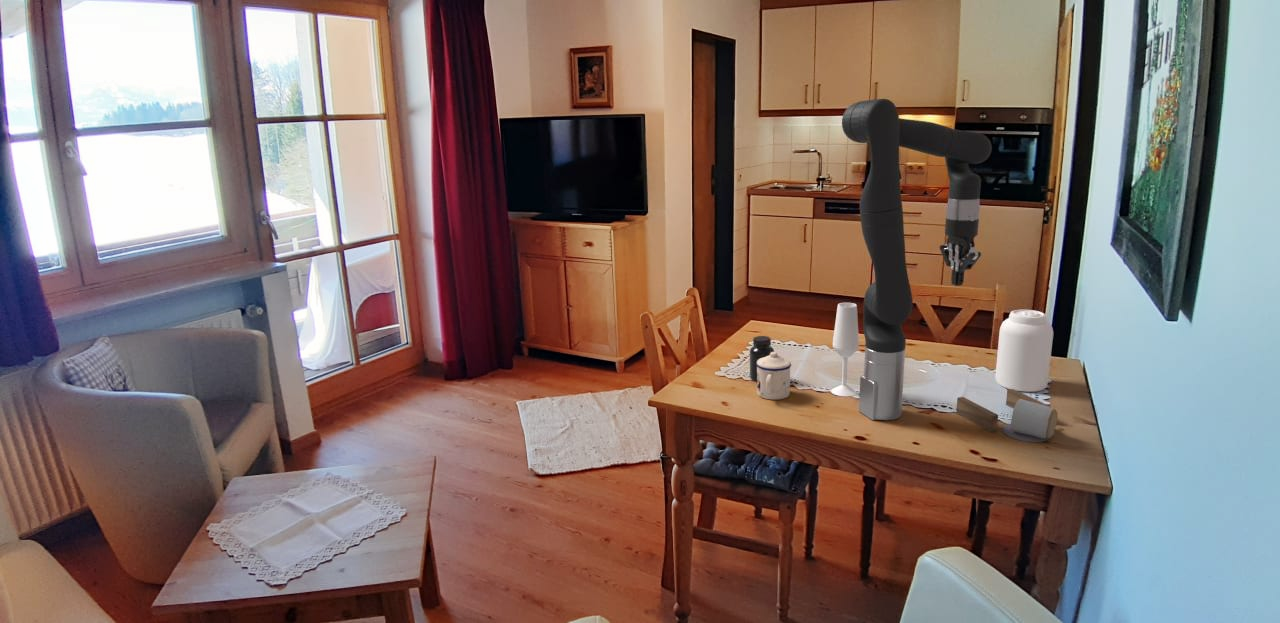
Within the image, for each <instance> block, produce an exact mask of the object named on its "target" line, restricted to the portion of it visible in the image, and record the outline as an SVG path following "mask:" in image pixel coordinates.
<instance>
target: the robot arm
mask: <svg viewBox="0 0 1280 623" xmlns="http://www.w3.org/2000/svg"><path fill="white" fill-rule="evenodd" d="M898 111H899V110H898V109H897V107H896V105H895V103H894V102H893V101H892V100H889V99H888V98H878V99H877V98H874V99H869V100H868V99H867V100H860V101H857V102H854V103H852V104H851V105H849V106H848V107H847V108H846V109H845V111H844V112H843V114H842V118H841V128H842V131H843V133H844V134H845V136H846V137H847V138H848V139H849V140H850V141H852V142H855V143H858V144H859V143H860V144H865V143H866V144H867V143H868V145H869V150H870V168H869V174H868V176H867V178H866V182H865V184H864V187H863V189H862V192H861V195H860V199H859V216H860V225H861V232H862V236H863V240H864V242H865V244H866V248H867V251H868V253H869V257H870V259H871V262H872V264H873V270H874V279H875V280H874V282H873V283H871V284H870V285H869V286H868V288H867V289H866V291H865V292H864V293H865V294H864V298H863V314H862V315H863V318H862V319H863V322H862V323H863V325H862V328H863V335H864V338H865V341H864V342H865V343H864V344H865V346H864V365H863V366H864V367H863V374H862V375H860V378H859V397H858V398H859V401H858V402H859V403H858V412H860V413H861V414H863V415H864V416H865V417H867V418H869V419H870V420H872V421H874V420H875V421H876V420H880V421H893V420H897V419H899V418H900V417H902V411H903V410H902V409H903V408H902V407H903V394H904V393H903V392H904V376H905V375H904V374H905V358H906V344H907V339H906V335H905V333H904V330H903V327H902V326H903V325H902V324H903V322H905V321H906V320H907V319H908V318H909V317H910V315H911V314H912V311H913V305H914V303H913V301H914V300H913V295H912V288H911V285H910V280H909V274H908V269H907V261H906V260H907V258H906V242H905V227H904V225H905V224H904V210H903V201H902V195H901V177H900V175H901V174H900V147H901V148H905V149H909V150H912V151H916V152H919V153H923V154H926V155H931V156H935V157H941V158H944V160H945V165H946V171H947V175H948V180H949V188H948V200H947V204H946V210H945V211H946V212H945V213H946V214H945V226H944V227H945V228H944V235H945V236H947V238H946V242H945V244H940V246H939V250H940V252H941V255H942V258H943V260H944V262H945V265H946V267H950V270H951V280H950V281H951V285H952V286H956V287H957V286H958V287H959V286H962V285H963V283H964V280H965V278H964V277H965V271H967V270H968V271H969V270H972V268H973V267H974V266H975V264H976V263H977V261H978V260H979V259H980V258H981V256H982V252H981V251H977V250H976V248H975V246H976V245H975V237H977V236H978V234H979V233H978V232H979V222H980V213H981V212H980V210H981V206H980V204H981V203H980V195H981V186H982V184H981V177H980V175H978V174H977V173H974V172H973V171H971V170H970V166H969V164H970V165H977V164H981V163H983V162H985V161H987V159H988V158H989V157H990V155H991V153H992V150H993V147H992V143H991V141H990V139H989V138H988V137H987V136H986V135H985V134H983V133H978V132H974V131H968V130H963V129H962V130H960V129H955V128H951V127H948V126H945V125H942V124H939V123H935V122H931V121H925V120H918V119H917V120H916V119H908V118H907V119H906V118H900V115H899V112H898Z"/></svg>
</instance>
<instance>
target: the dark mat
mask: <svg viewBox="0 0 1280 623" xmlns="http://www.w3.org/2000/svg"><path fill="white" fill-rule="evenodd" d="M1001 432H1003V434H1004V435H1006V436H1007V437H1009V438H1012V439H1014V440H1018V441H1022V442H1027V443H1029V442H1030V443H1042V442H1047V441H1049V440H1050V439H1051V438H1048V439H1045V438H1039V437H1035V436H1030V435H1026V434H1022V433H1017V432H1013V431H1012V430H1011V423H1007V424H1004V425H1003V426H1002V429H1001Z"/></svg>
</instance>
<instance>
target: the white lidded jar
mask: <svg viewBox="0 0 1280 623" xmlns="http://www.w3.org/2000/svg"><path fill="white" fill-rule="evenodd" d="M1047 320H1048V319H1047V315H1046V313H1044V312H1042V311H1038V310H1033V309H1026V308H1025V309H1024V308H1023V309H1014V310H1011V311H1010V313H1009V315H1008V318H1006V319H1005V320H1003V321H1002V323H1001V325H1000V327H999V333H998V335H999V336H998V345H997V346H998V347H997V355H996V365H995V377H994V378H995V382H996V384H998V386H1000V387H1002V388H1005V389H1007V390H1009V389H1014V390H1016V391H1018V392H1027V393H1030V392H1031V393H1033V392H1041V391H1043V390H1045V389H1046V388H1047V386H1048V381H1049V373H1050V366H1051V365H1050V364H1051V356H1052V350H1053V349H1052V348H1053V340H1054V329H1053V326H1052V325H1051V324H1050V322H1049V321H1047Z"/></svg>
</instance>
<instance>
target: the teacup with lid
mask: <svg viewBox="0 0 1280 623" xmlns="http://www.w3.org/2000/svg"><path fill="white" fill-rule="evenodd" d="M756 365H757V382H756V393H757V396H759V397H760V398H763V399H766V400H771V401H772V400H773V401H774V400H775V401H776V400H783V399H786V398H788V397H789V396H790V394H791V393H790V392H791V389H790V388H791V367H792V363H791V361H790V360H789V359H787V358H785V357H782V356H781V355H779V354H778V352H776V351H774V352H771V353H770V355H769V356H766V357H763V358H760V359H759V360H758V361H757V363H756Z"/></svg>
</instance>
